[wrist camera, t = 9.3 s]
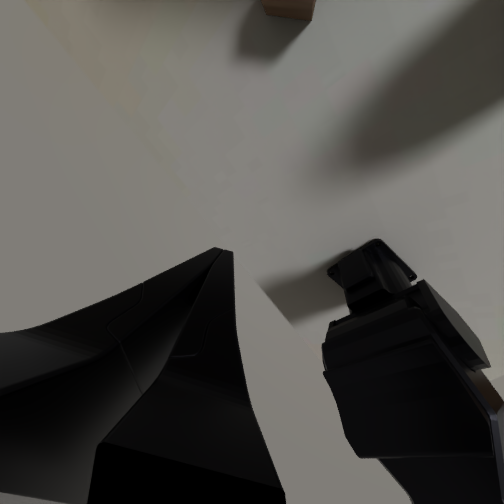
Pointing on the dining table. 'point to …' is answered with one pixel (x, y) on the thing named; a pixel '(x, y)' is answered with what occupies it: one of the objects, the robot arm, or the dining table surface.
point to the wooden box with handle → (290, 8)
